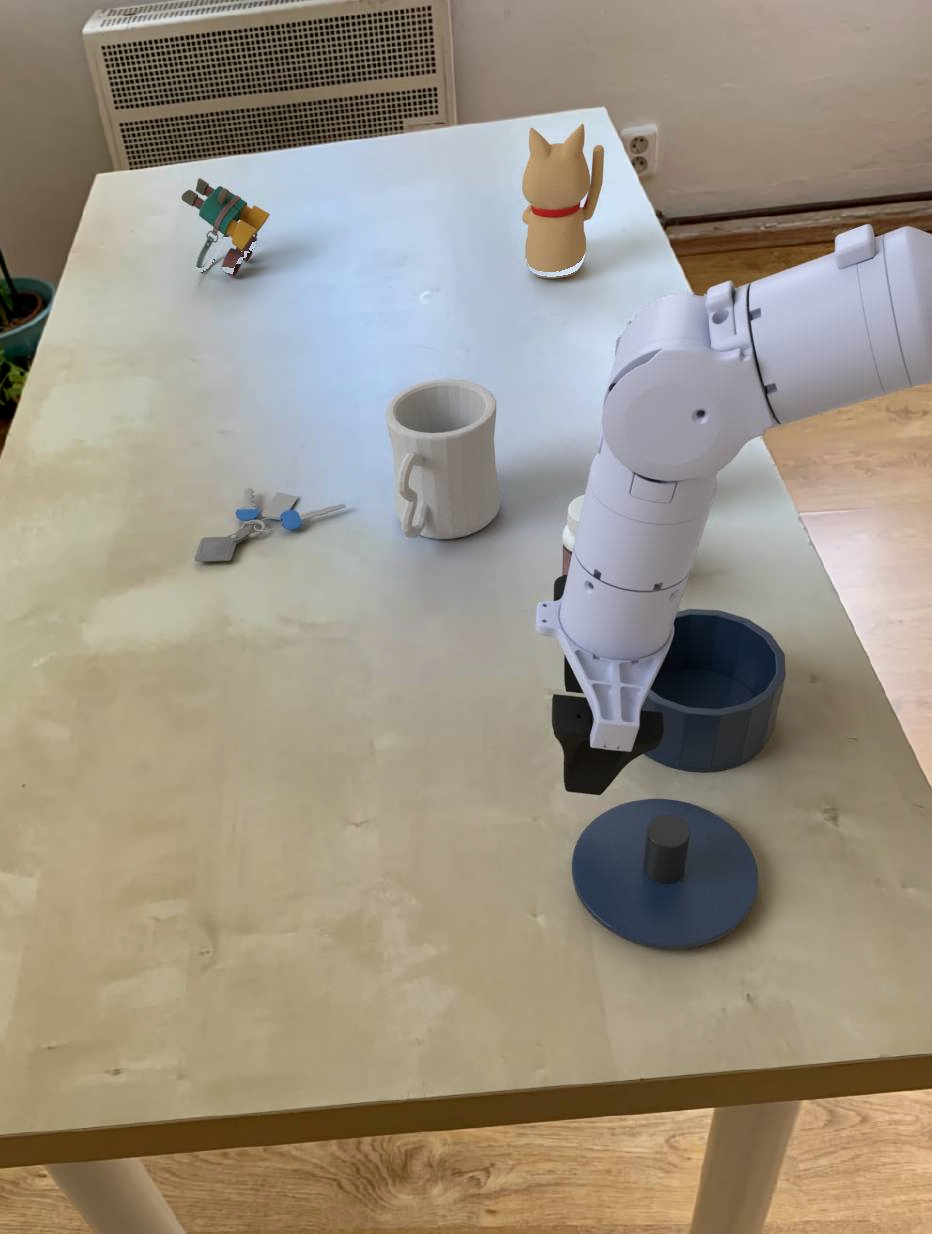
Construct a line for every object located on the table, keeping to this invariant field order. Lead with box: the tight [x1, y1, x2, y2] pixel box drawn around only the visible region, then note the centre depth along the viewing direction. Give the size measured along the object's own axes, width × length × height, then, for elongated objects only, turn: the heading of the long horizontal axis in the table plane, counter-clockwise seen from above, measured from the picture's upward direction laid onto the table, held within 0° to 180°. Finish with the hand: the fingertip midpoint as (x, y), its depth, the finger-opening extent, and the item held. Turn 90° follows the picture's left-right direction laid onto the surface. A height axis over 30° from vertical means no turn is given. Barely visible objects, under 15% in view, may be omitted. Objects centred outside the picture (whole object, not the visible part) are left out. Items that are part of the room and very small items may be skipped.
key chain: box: [194, 487, 347, 563], centre depth 96 cm, size 14×8×1 cm, turn 121°
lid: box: [571, 798, 759, 950], centre depth 64 cm, size 11×11×5 cm
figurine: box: [521, 123, 605, 279], centre depth 117 cm, size 9×10×15 cm
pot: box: [641, 608, 787, 773], centre depth 73 cm, size 10×10×5 cm
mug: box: [384, 378, 502, 540], centre depth 89 cm, size 12×9×10 cm
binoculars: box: [181, 177, 271, 279], centre depth 130 cm, size 9×9×10 cm
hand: (583, 737), depth 63 cm, fingers open, 7 cm apart
